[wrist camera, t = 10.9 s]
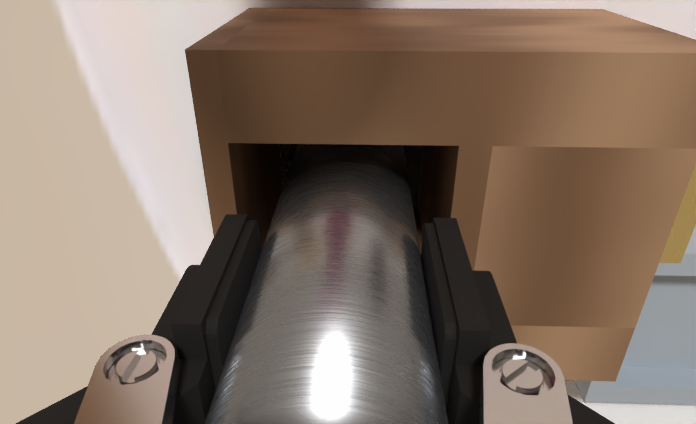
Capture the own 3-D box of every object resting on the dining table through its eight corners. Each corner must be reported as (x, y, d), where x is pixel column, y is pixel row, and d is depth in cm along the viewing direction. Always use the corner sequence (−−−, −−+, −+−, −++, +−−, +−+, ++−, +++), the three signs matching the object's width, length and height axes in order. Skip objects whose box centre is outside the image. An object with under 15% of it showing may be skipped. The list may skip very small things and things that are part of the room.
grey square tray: (802, 219, 20) (858, 256, 18) (729, 361, 24) (768, 407, 22) (603, 216, 21) (634, 252, 18) (563, 357, 25) (584, 402, 22)
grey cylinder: (404, 94, 19) (475, 412, 6) (399, 191, 21) (446, 574, 8) (297, 94, 19) (164, 405, 6) (302, 190, 21) (208, 566, 8)
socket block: (602, 9, 17) (736, 52, 11) (545, 255, 22) (615, 381, 16) (249, 7, 17) (185, 49, 11) (271, 250, 22) (234, 371, 16)
